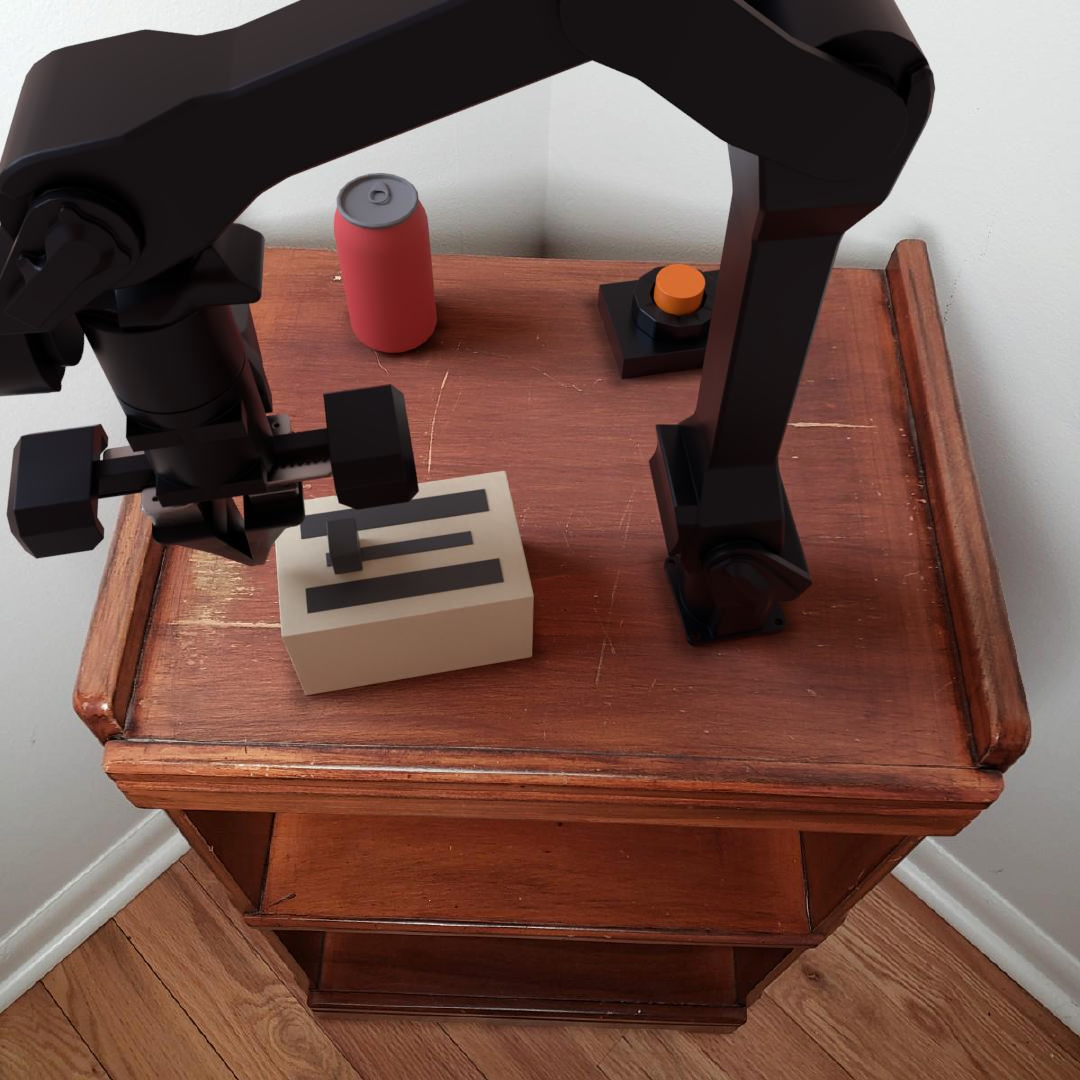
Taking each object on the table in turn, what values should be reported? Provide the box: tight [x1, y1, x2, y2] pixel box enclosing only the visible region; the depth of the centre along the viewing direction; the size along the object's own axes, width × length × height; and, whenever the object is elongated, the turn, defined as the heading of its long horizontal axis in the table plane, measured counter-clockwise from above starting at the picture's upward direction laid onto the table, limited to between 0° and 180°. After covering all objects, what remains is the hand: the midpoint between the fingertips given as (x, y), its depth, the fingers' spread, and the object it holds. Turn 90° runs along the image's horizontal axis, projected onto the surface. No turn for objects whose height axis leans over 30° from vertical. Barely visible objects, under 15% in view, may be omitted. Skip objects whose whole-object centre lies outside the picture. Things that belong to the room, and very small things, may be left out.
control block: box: [597, 264, 719, 380], centre depth 77 cm, size 8×10×4 cm
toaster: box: [274, 470, 535, 696], centre depth 62 cm, size 9×14×8 cm, turn 101°
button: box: [654, 263, 705, 315], centre depth 75 cm, size 4×4×2 cm
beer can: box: [333, 172, 438, 354], centre depth 74 cm, size 7×7×12 cm
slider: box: [326, 517, 363, 575], centre depth 57 cm, size 2×2×2 cm
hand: (257, 558), depth 56 cm, fingers closed
